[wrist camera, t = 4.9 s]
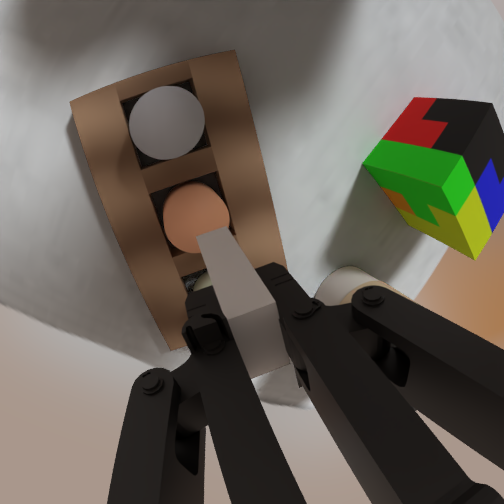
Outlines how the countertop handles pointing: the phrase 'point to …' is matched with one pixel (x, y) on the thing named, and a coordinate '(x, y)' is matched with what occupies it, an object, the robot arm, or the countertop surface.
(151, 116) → the button grey
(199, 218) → the button terracotta
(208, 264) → the robot arm
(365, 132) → the countertop surface
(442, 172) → the puzzle toy
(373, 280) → the coffee cup
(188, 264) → the button board
